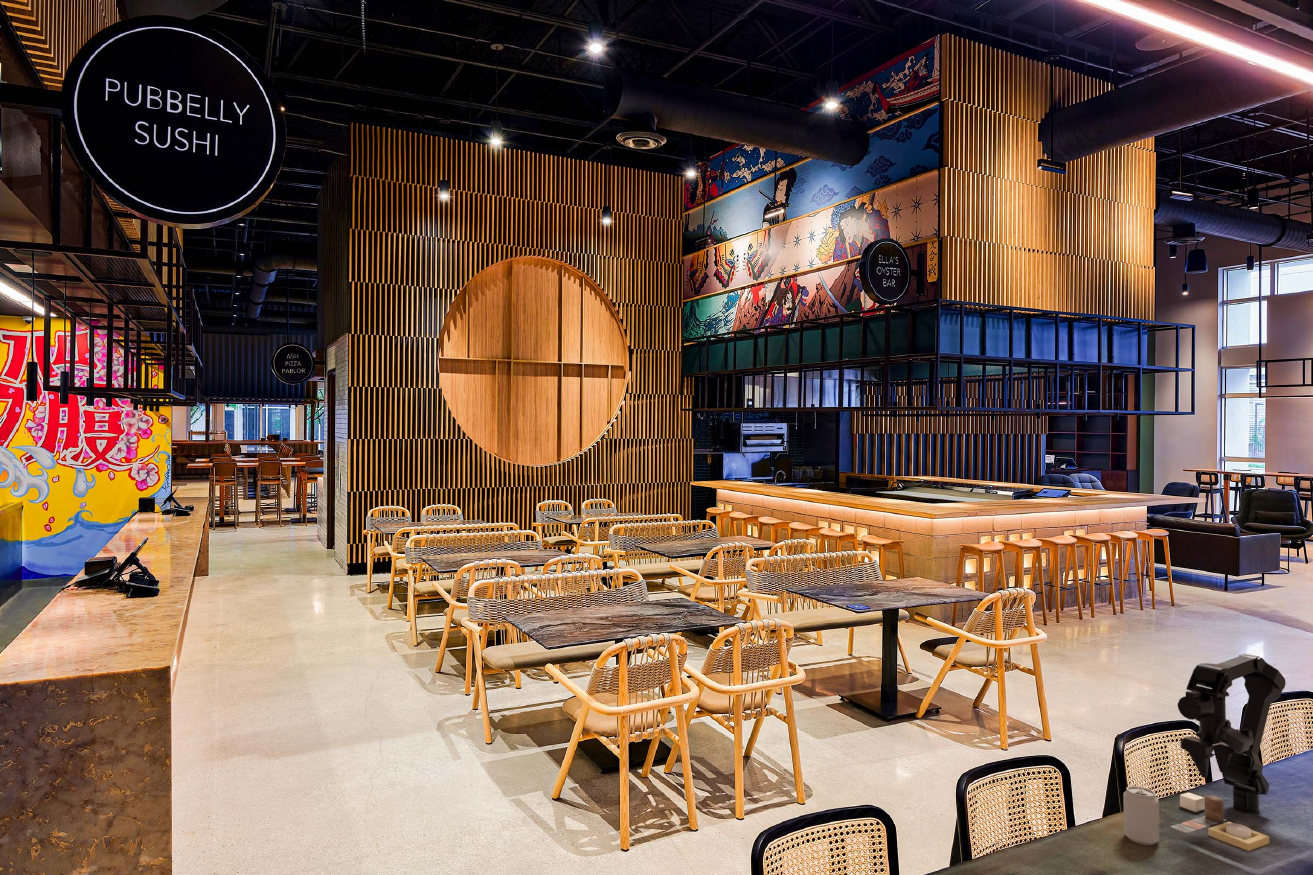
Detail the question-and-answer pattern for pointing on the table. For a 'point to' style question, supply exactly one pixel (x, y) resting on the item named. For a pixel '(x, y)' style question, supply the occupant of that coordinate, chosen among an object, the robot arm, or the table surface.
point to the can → (1141, 815)
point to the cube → (1192, 802)
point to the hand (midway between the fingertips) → (1213, 774)
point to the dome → (1238, 830)
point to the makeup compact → (1194, 824)
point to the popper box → (1248, 844)
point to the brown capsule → (1214, 808)
